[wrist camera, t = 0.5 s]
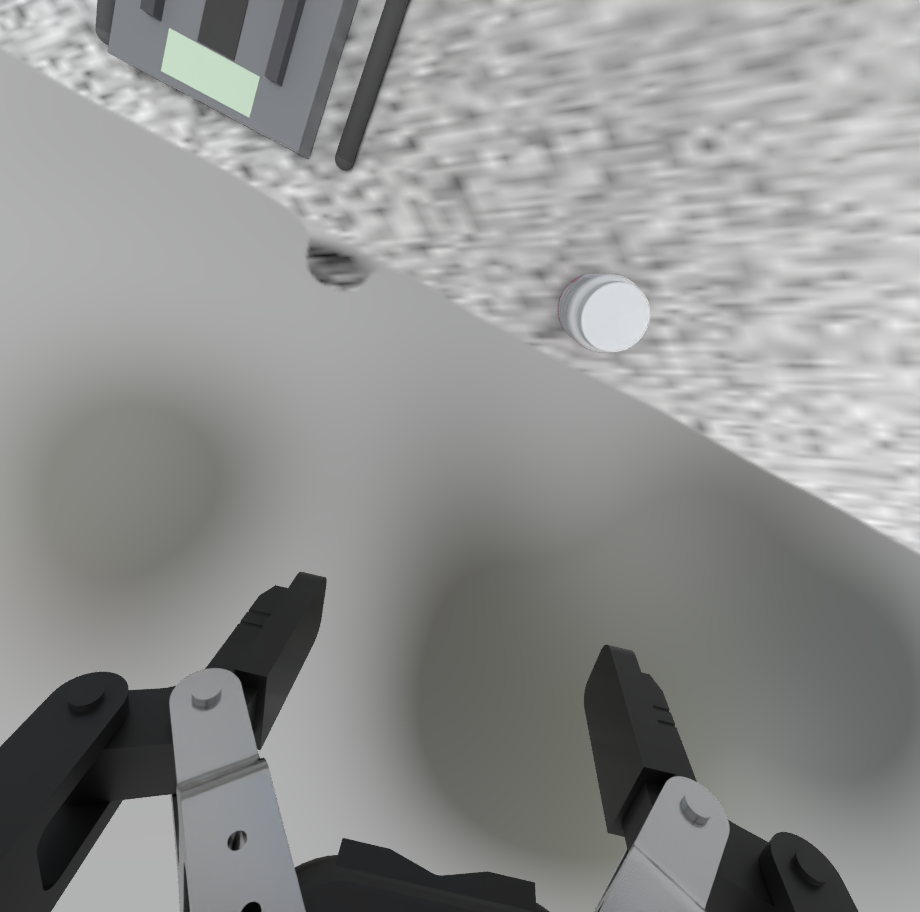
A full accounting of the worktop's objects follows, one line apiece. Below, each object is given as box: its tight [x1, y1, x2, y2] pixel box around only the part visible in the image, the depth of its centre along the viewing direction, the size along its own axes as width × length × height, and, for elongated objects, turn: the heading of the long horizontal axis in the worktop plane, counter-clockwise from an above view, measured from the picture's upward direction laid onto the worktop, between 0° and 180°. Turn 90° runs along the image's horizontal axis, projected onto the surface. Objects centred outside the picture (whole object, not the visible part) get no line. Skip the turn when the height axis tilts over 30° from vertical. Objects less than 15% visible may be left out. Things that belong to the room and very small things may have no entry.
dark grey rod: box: [335, 0, 409, 170], centre depth 30 cm, size 19×1×1 cm, turn 154°
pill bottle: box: [558, 273, 650, 352], centre depth 32 cm, size 5×5×8 cm
